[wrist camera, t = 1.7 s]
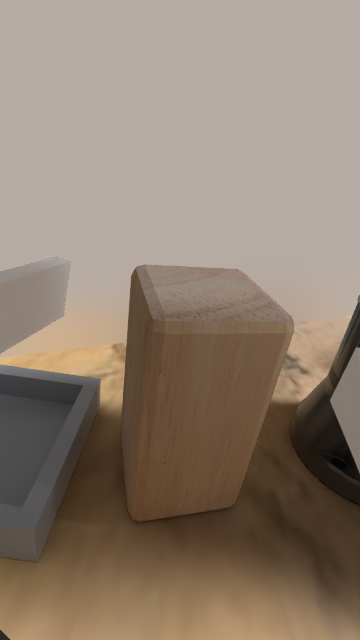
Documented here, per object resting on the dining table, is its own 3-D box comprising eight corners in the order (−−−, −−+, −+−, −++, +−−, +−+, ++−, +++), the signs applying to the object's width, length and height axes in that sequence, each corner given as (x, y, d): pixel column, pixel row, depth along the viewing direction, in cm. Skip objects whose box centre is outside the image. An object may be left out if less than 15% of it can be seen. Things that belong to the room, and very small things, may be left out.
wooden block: (119, 436, 36) (130, 259, 27) (205, 428, 39) (243, 265, 30) (128, 529, 28) (149, 318, 18) (238, 511, 30) (304, 319, 21)
